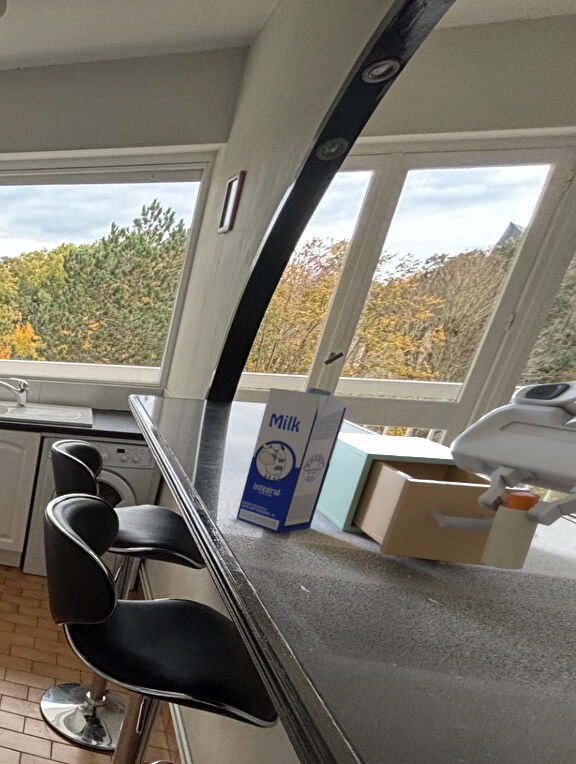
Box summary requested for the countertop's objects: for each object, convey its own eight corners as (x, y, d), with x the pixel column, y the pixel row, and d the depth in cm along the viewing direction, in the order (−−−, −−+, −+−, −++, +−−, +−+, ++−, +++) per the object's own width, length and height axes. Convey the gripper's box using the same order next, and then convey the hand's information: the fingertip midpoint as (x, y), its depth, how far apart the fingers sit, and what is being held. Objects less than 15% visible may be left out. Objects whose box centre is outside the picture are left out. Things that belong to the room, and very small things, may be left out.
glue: (510, 560, 66) (534, 491, 63) (529, 570, 63) (555, 498, 61) (473, 558, 67) (495, 490, 64) (491, 568, 64) (515, 497, 62)
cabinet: (449, 542, 82) (483, 461, 78) (341, 530, 86) (367, 453, 82) (397, 508, 96) (423, 438, 91) (306, 500, 100) (326, 432, 95)
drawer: (518, 581, 69) (556, 501, 65) (398, 566, 72) (428, 490, 68) (434, 527, 85) (460, 461, 81) (339, 518, 88) (361, 454, 85)
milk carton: (234, 518, 91) (269, 385, 84) (265, 513, 93) (301, 384, 86) (279, 533, 85) (321, 392, 77) (311, 528, 87) (354, 390, 80)
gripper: (794, 463, 52) (650, 570, 55) (521, 421, 71) (423, 502, 73) (785, 414, 50) (635, 528, 52) (505, 384, 69) (405, 469, 71)
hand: (510, 512), depth 63 cm, fingers closed on glue, 3 cm apart
